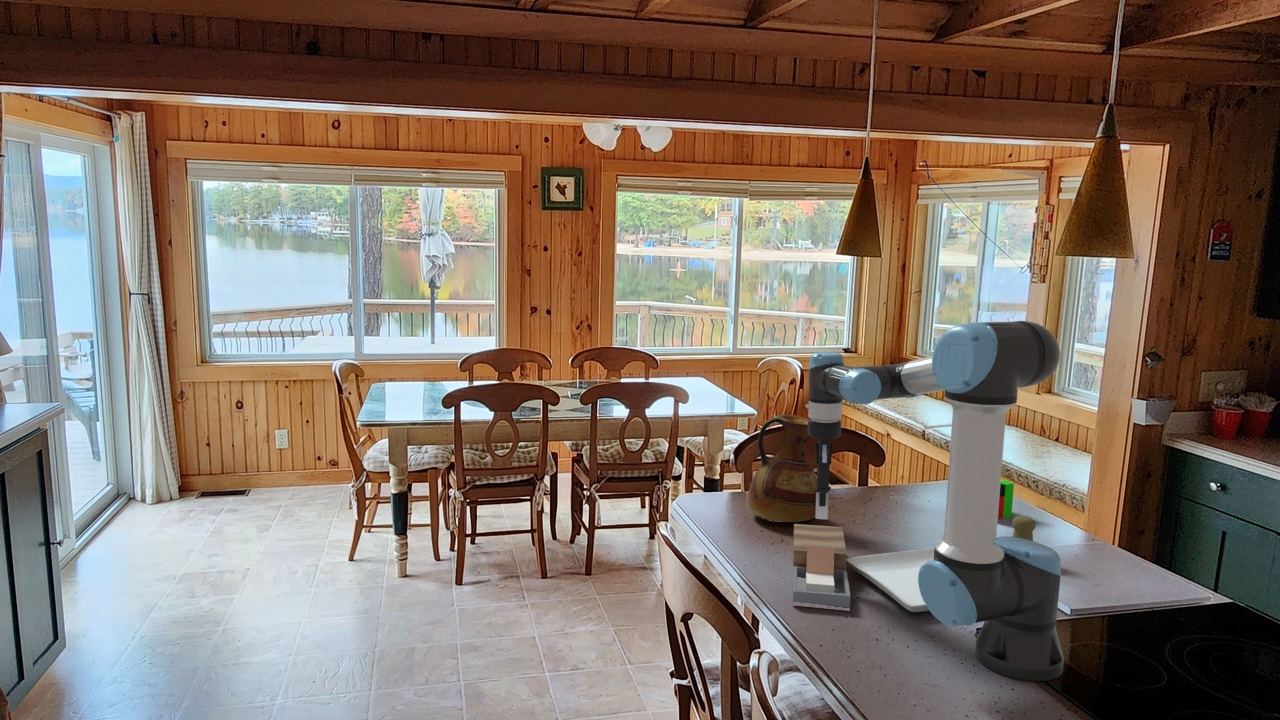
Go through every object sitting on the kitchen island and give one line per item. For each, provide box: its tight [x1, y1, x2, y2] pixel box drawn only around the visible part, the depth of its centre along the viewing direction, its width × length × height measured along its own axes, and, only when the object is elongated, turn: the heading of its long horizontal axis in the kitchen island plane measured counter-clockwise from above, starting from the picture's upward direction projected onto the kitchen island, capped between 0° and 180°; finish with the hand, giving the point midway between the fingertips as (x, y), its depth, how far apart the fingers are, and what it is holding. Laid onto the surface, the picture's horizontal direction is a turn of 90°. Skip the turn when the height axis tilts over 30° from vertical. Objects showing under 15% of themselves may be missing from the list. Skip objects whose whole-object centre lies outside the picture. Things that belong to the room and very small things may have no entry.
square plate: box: [846, 548, 934, 613], centre depth 185 cm, size 27×27×4 cm
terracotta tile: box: [806, 546, 834, 575], centre depth 186 cm, size 6×6×3 cm
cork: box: [1012, 515, 1036, 541], centre depth 201 cm, size 6×6×11 cm
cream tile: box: [806, 572, 834, 593], centre depth 181 cm, size 6×6×3 cm
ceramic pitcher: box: [747, 413, 817, 523], centre depth 229 cm, size 20×20×30 cm
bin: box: [792, 565, 851, 609], centre depth 181 cm, size 14×12×4 cm
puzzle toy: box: [998, 478, 1015, 520], centre depth 235 cm, size 10×10×10 cm
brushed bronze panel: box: [792, 523, 848, 571], centre depth 197 cm, size 18×12×7 cm, turn 169°
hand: (821, 518), depth 189 cm, fingers closed
